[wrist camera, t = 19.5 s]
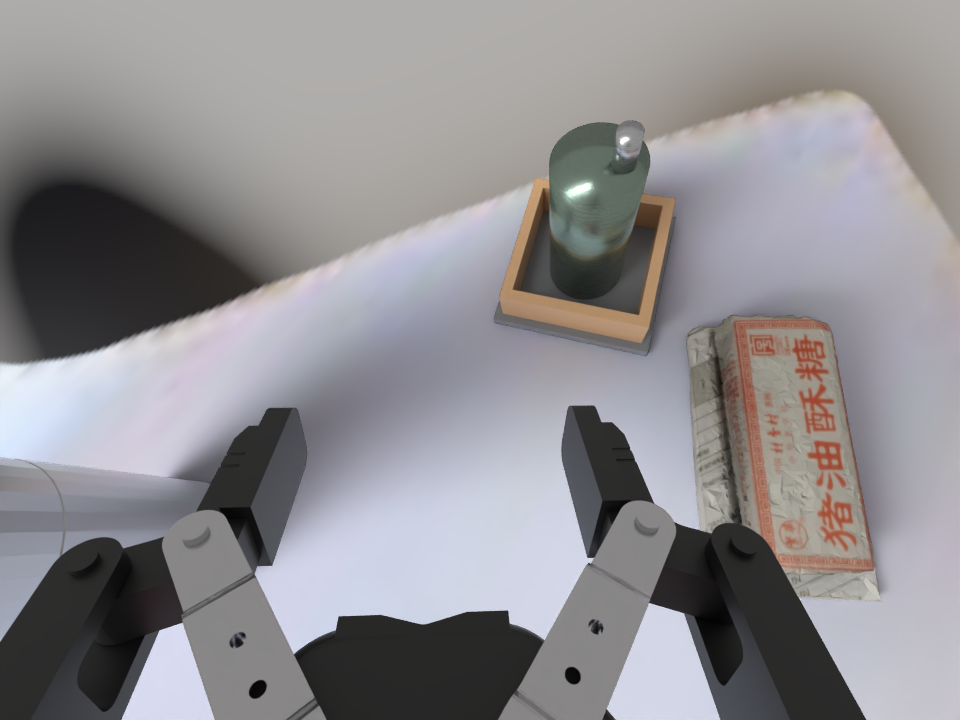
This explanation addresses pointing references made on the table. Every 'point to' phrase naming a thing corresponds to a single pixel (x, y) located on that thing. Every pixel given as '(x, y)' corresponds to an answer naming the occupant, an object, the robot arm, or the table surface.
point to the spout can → (594, 204)
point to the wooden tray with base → (595, 321)
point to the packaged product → (780, 450)
